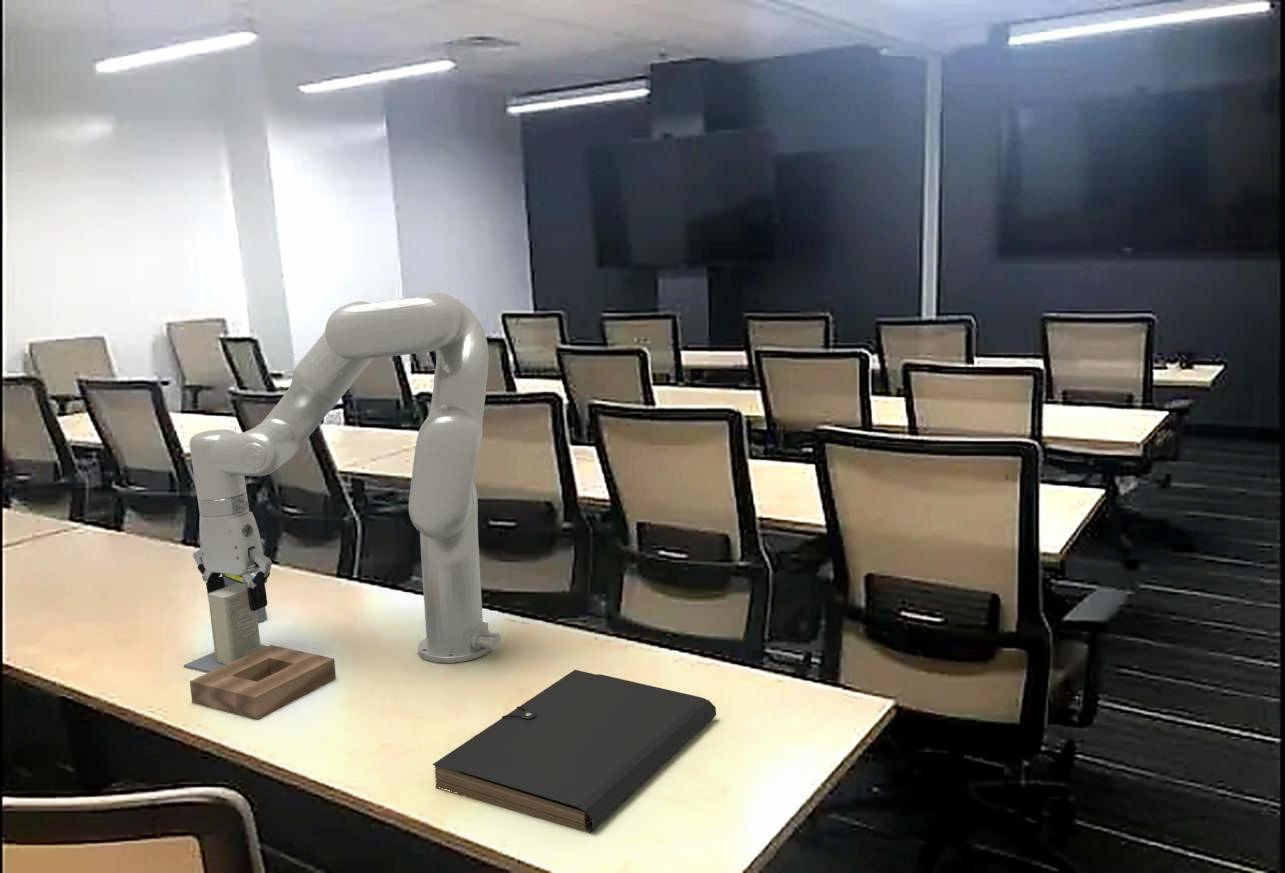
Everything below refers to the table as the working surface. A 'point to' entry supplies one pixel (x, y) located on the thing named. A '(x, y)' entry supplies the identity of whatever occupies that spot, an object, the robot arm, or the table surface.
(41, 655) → the table surface
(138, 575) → the table surface
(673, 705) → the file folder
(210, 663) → the slate mat
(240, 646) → the skincare box
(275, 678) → the pocket block
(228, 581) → the label tape box
